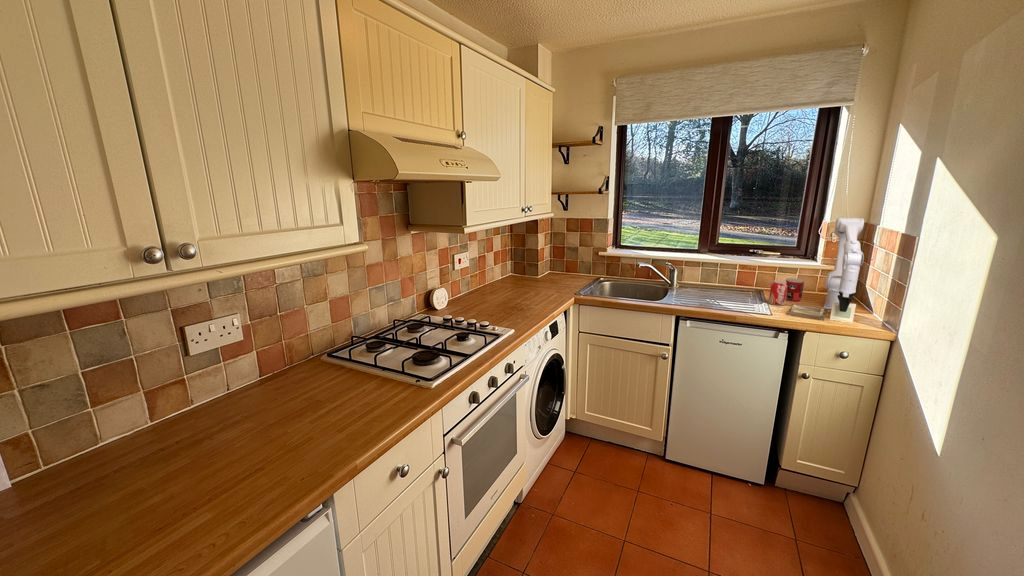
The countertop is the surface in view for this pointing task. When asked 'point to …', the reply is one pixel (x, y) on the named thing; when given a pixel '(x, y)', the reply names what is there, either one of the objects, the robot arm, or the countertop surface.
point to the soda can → (778, 293)
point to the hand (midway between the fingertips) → (843, 309)
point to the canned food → (794, 289)
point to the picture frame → (842, 313)
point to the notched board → (807, 312)
